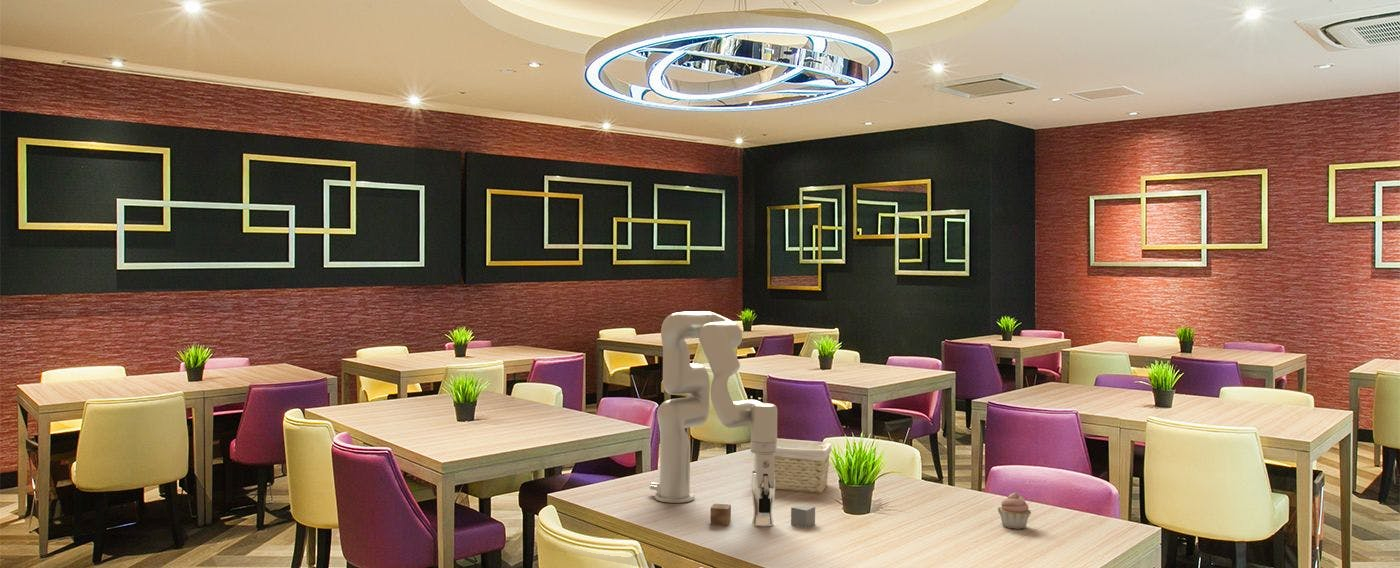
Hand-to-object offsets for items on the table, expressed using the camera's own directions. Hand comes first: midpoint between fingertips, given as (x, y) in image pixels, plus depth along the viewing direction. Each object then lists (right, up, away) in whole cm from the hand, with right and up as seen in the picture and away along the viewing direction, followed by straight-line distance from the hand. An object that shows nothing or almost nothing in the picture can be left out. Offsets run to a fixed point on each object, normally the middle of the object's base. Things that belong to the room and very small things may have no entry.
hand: (762, 508), depth 262 cm
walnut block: (-12, -4, +1) cm, 13 cm away
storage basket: (+13, -4, +46) cm, 48 cm away
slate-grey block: (+12, -5, +1) cm, 12 cm away
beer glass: (0, -5, 0) cm, 5 cm away
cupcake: (+72, -6, +1) cm, 73 cm away
